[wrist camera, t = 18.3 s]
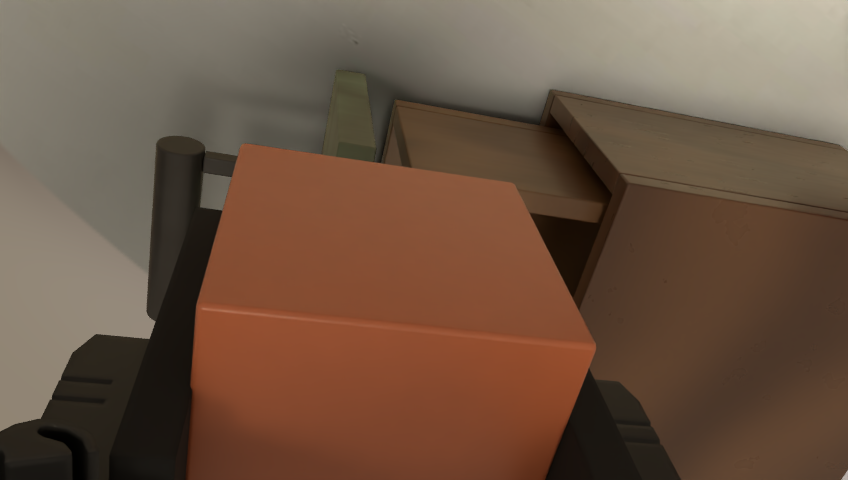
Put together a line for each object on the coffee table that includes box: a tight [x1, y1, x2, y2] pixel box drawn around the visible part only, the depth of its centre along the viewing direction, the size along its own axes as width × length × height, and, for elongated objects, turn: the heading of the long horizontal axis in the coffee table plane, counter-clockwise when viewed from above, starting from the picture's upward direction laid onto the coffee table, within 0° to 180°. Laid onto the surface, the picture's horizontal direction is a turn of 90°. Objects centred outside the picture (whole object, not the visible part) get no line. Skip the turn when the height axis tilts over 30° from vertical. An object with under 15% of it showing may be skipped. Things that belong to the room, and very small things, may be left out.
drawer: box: [147, 69, 613, 321], centre depth 29 cm, size 19×11×8 cm, turn 77°
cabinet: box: [539, 90, 848, 480], centre depth 32 cm, size 15×13×10 cm
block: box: [185, 143, 596, 480], centre depth 13 cm, size 6×6×6 cm
